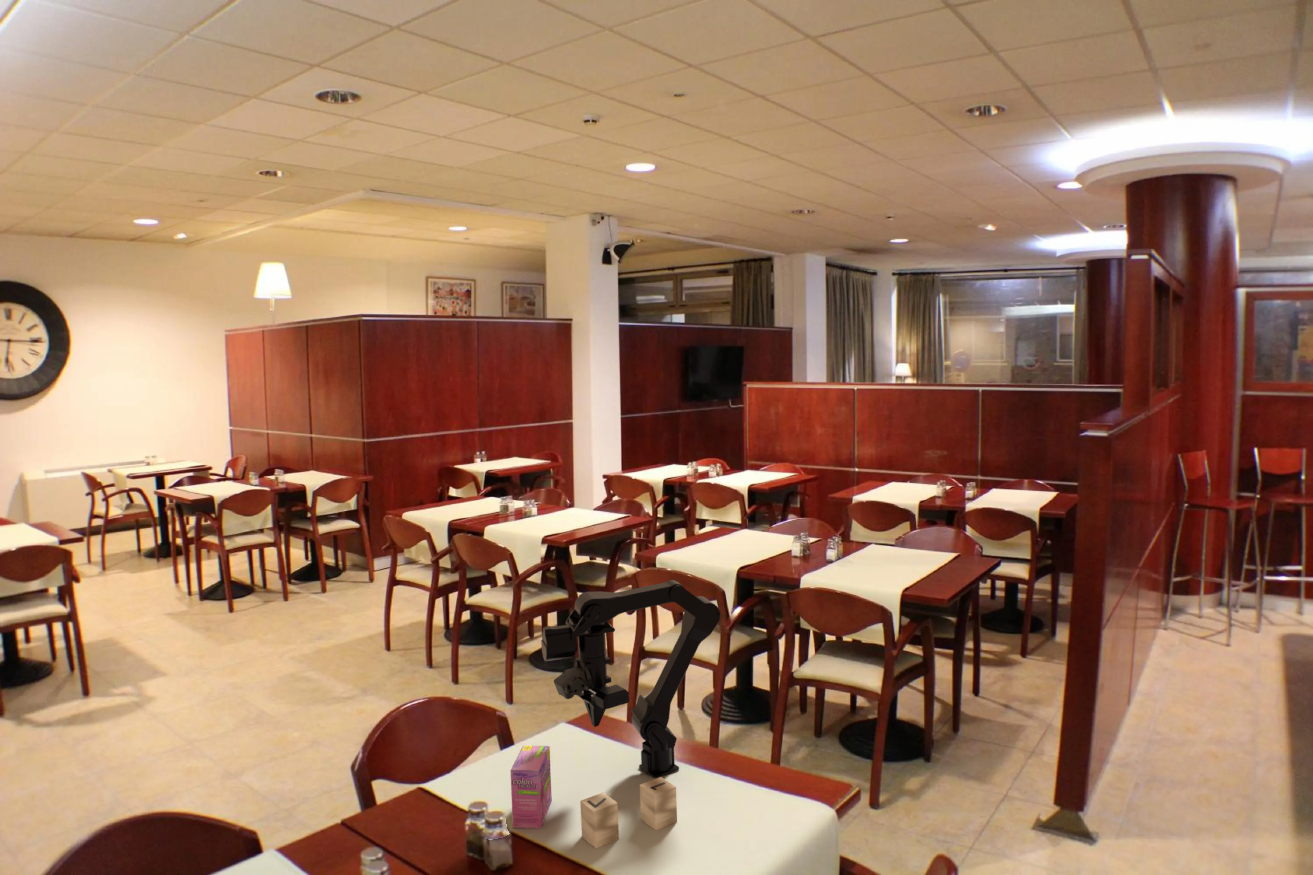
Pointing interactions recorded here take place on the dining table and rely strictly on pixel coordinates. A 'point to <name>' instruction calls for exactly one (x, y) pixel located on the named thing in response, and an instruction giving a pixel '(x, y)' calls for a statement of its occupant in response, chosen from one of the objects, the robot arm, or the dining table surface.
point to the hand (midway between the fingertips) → (595, 725)
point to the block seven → (599, 820)
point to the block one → (658, 803)
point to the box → (531, 787)
